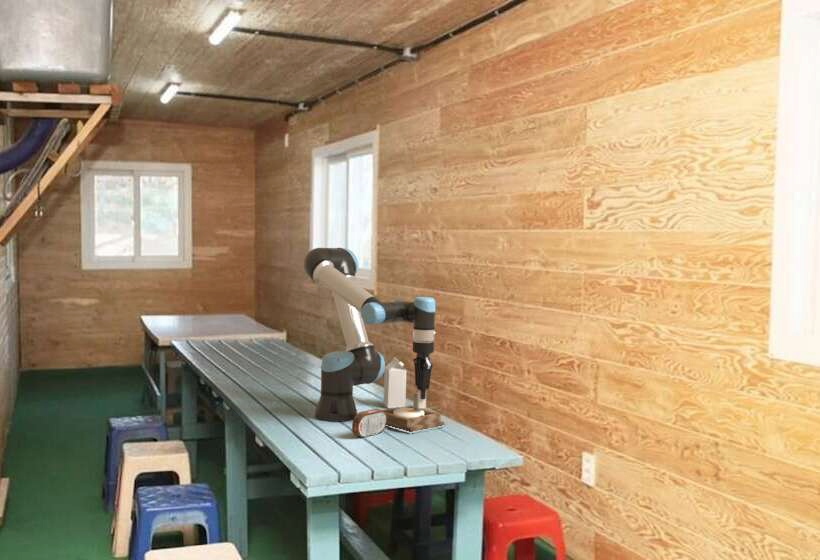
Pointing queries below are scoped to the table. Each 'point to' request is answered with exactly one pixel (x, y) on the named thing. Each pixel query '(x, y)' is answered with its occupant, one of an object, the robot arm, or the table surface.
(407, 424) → the wooden tray
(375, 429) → the tin
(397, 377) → the milk carton
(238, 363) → the table surface
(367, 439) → the table surface
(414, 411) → the dial
